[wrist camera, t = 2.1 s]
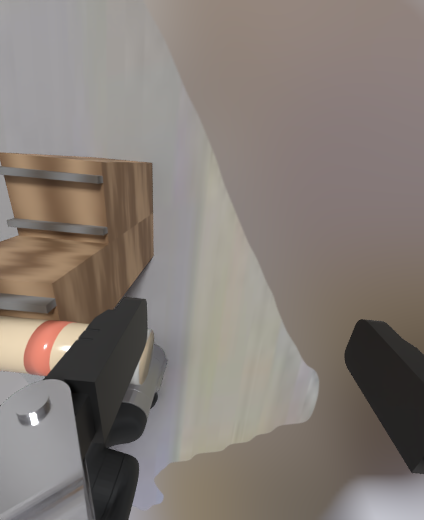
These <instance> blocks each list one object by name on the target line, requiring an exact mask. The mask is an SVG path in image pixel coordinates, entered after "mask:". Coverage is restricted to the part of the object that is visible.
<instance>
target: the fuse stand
mask: <svg viewBox="0 0 424 520" xmlns="http://www.w3.org/2000/svg"><path fill="white" fill-rule="evenodd" d="M0 161H1V165H2V166H0V175H4V177H5V182H6V186H7V190H8V194H9V198H10V202H11V206H12V210H13V214H14V218H13V219H10V220H7V224H8V227H17V230H18V234H19V235H18V236H16V237H13V238H10V239H7V240H4V241H1V242H0V315H1V316H12V317H22V318H32V319H43V320H59V321H69V322H77V323H84V324H90V323H91V322H92V321H93V319H94V318H95V317H97V316H98V315H100V314H101V313H103V312H104V311H106V310H108V309H110V310H113V309H114V308H115V306H116V305H117V304H118V302H119V301H120V300H121V298H122V297H123V296H124V294H125V293H126V292H127V290H128V289H129V288H130V286H131V285H132V284H133V282H134V281H135V280H136V278H137V277H138V276H139V274H140V273H141V272H142V270H143V269H144V268H145V266H146V265H147V264H148V262H149V261H150V260H151V258H152V257H153V256H154V254H153V180H152V163H147V162H136V161H126V160H115V159H104V158H94V157H76V156H57V155H38V154H19V153H0Z"/></svg>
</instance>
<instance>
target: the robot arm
mask: <svg viewBox="0 0 424 520" xmlns="http://www.w3.org/2000/svg"><path fill="white" fill-rule="evenodd" d="M147 334H148V328H147V302H146V299H140V298H129V297H125V298H123V299H122V301H121V302H120V304H119V305H118V306H117V308H116V309H115V310H110V309H108V310H106V311H104V312H103V313H101V314H100V315H98V316H97V317H95V318H94V319H93V321H92V322H91V323H90V324H89V325H88V327H87V328H86V330H84V331H83V333H82V334H81V335H80V336H79V337H78V340H76V341H75V342H74V343H73V345H72V346H71V347H70V348H69V349H68V351H67V352H66V353H65V354H64V355H63V357H62V358H61V359H60V360H59V361H58V363H57V364H56V365H55V366H54V367H53V369H52V370H51V371H50V372H49V373H48V375H47V376H46V377H45V378H44V379H43V380H42V381H38V382H35V383H32V384H30V385H28V386H26V387H24V388H22V389H20V390H18V391H17V392H16V393H14V394H13V395H11V396H10V397H9V398H8V399H7V400H6V401H5V402H3V404H2V405H0V520H128V518H129V515H130V511H131V507H132V503H133V499H134V495H135V491H136V486H137V482H138V475H139V463H138V461H137V459H136V458H134V457H133V456H131V455H128V454H126V453H122V452H119V451H116V450H112V449H109V447H111V446H114V445H118V444H124V443H130V442H133V441H135V440H137V439H138V438H139V437H140V436H141V435H142V433H143V431H144V429H145V425H146V422H147V418H148V415H149V411H150V408H151V405H152V401H153V398H154V394H155V393H156V392H158V391H159V389H160V386H161V382H162V379H163V375H164V372H165V368H166V364H167V361H168V360H167V359H166V358H165V354H164V351H163V350H162V349H161V348H160V347H159V346H157V345H155V344H154V348H153V355H152V360H151V365H150V369H149V372H148V375H147V378H146V380H145V382H144V383H143V385H132V384H130V382H131V380H132V377H133V375H134V372H135V370H136V368H137V365H138V363H139V361H140V358H141V356H142V353H143V351H144V349H145V345H146V341H147ZM345 363H346V366H347V368H348V370H349V371H350V373H351V375H352V376H353V378H354V380H355V381H356V383H357V385H358V386H359V388H360V389H361V391H362V393H363V394H364V396H365V397H366V399H367V401H368V402H369V404H370V406H371V407H372V409H373V411H374V412H375V414H376V415H377V417H378V419H379V420H380V422H381V423H382V425H383V427H384V428H385V430H386V432H387V433H388V435H389V437H390V438H391V440H392V442H393V443H394V445H395V446H396V448H397V450H398V451H399V453H400V454H401V456H402V458H403V459H404V461H405V463H406V464H407V466H408V468H409V469H410V471H411V472H412V473H420V474H424V355H423V354H422V353H421V352H420V351H419V350H418V349H417V348H416V347H414V346H413V345H411V344H410V343H408V342H407V341H405V340H404V339H402V338H401V337H400V336H399V335H398V334H397V333H396V332H395V331H394V330H393V329H392V328H391V327H390V326H389V325H388V324H387V323H385V322H382V321H373V320H363V319H361V320H359V321H358V322H357V323H356V325H355V328H354V330H353V333H352V335H351V337H350V340H349V342H348V345H347V347H346V350H345Z"/></svg>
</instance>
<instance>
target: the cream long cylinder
mask: <svg viewBox="0 0 424 520" xmlns="http://www.w3.org/2000/svg"><path fill="white" fill-rule="evenodd" d="M88 325H89V324H84V323H77V322H69V321H59V320H43V319H32V318H22V317H12V316H1V315H0V371H7V372H17V373H27V374H31V375H40V376H47V375H48V373H49V372H50V371H51V370H52V369H53V367H54V366H55V365H56V364H57V363H58V361H59V360H60V359H61V358H62V357H63V355H64V354H65V353H66V352H67V351H68V349H69V348H70V347H71V346H72V345H73V343H74V342H75V341H76V340H78V337H79V336H80V335H81V334H82V333H83V331H84V330H86V328H87V327H88ZM153 348H154V333H153V330H152V329H148V334H147V341H146V345H145V349H144V351H143V353H142V356H141V358H140V361H139V363H138V365H137V368H136V370H135V372H134V375H133V377H132V380H131V382H130V384H132V385H143V383H144V382H145V380H146V378H147V375H148V372H149V369H150V365H151V360H152V355H153Z"/></svg>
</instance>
